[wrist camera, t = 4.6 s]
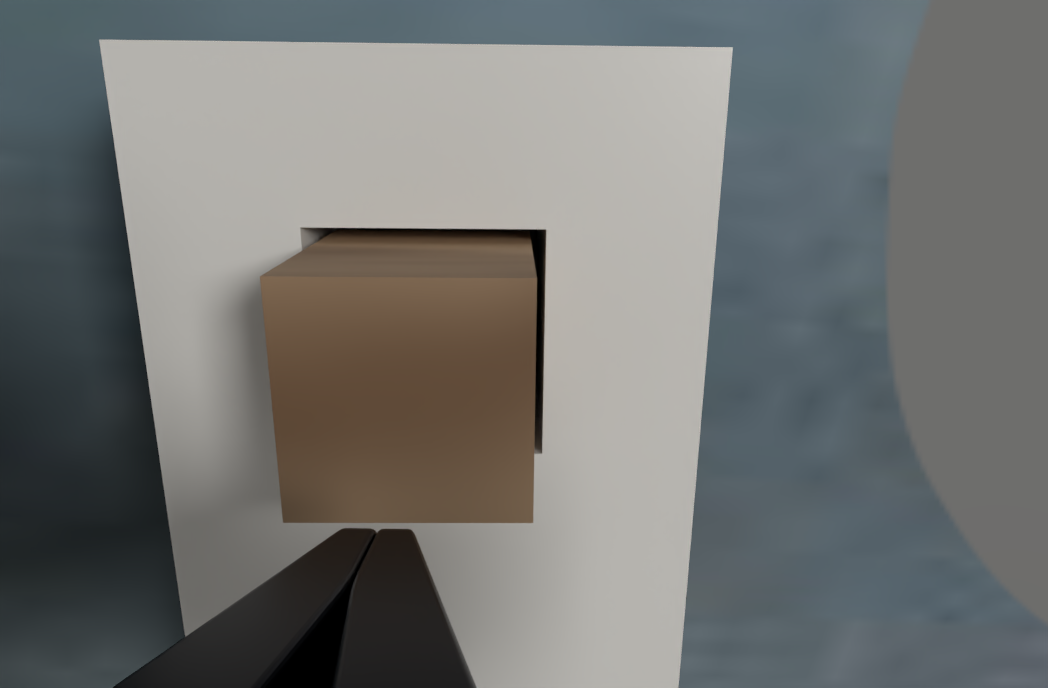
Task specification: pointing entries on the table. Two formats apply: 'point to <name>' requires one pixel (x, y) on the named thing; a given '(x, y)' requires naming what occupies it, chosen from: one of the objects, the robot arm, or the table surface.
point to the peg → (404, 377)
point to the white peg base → (442, 204)
